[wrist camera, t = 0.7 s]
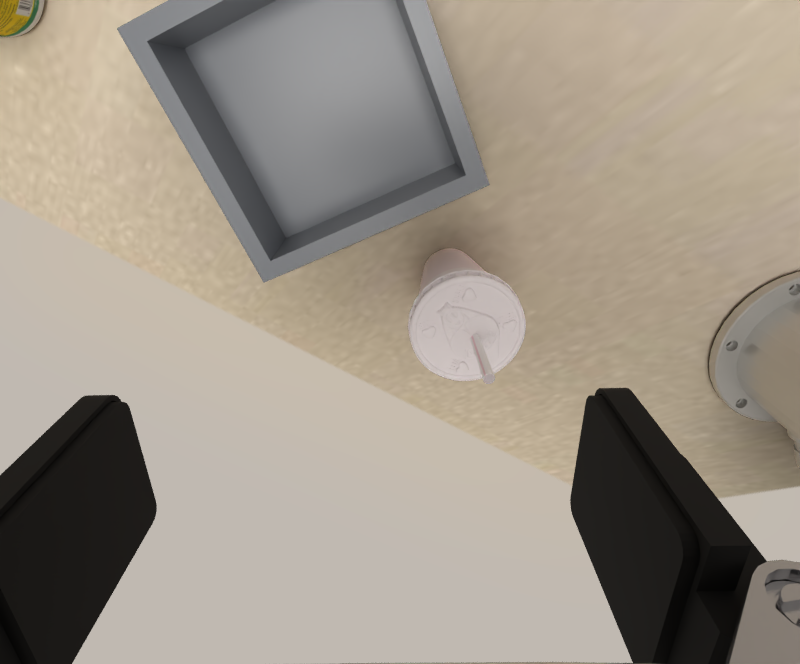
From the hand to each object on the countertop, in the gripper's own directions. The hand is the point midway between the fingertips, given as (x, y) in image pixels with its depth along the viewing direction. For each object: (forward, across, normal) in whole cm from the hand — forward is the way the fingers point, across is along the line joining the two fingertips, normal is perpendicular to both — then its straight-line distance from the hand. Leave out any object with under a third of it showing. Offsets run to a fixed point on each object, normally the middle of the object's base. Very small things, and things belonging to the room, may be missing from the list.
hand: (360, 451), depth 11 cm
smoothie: (+26, -4, +5) cm, 27 cm away
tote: (+26, +4, -6) cm, 27 cm away
